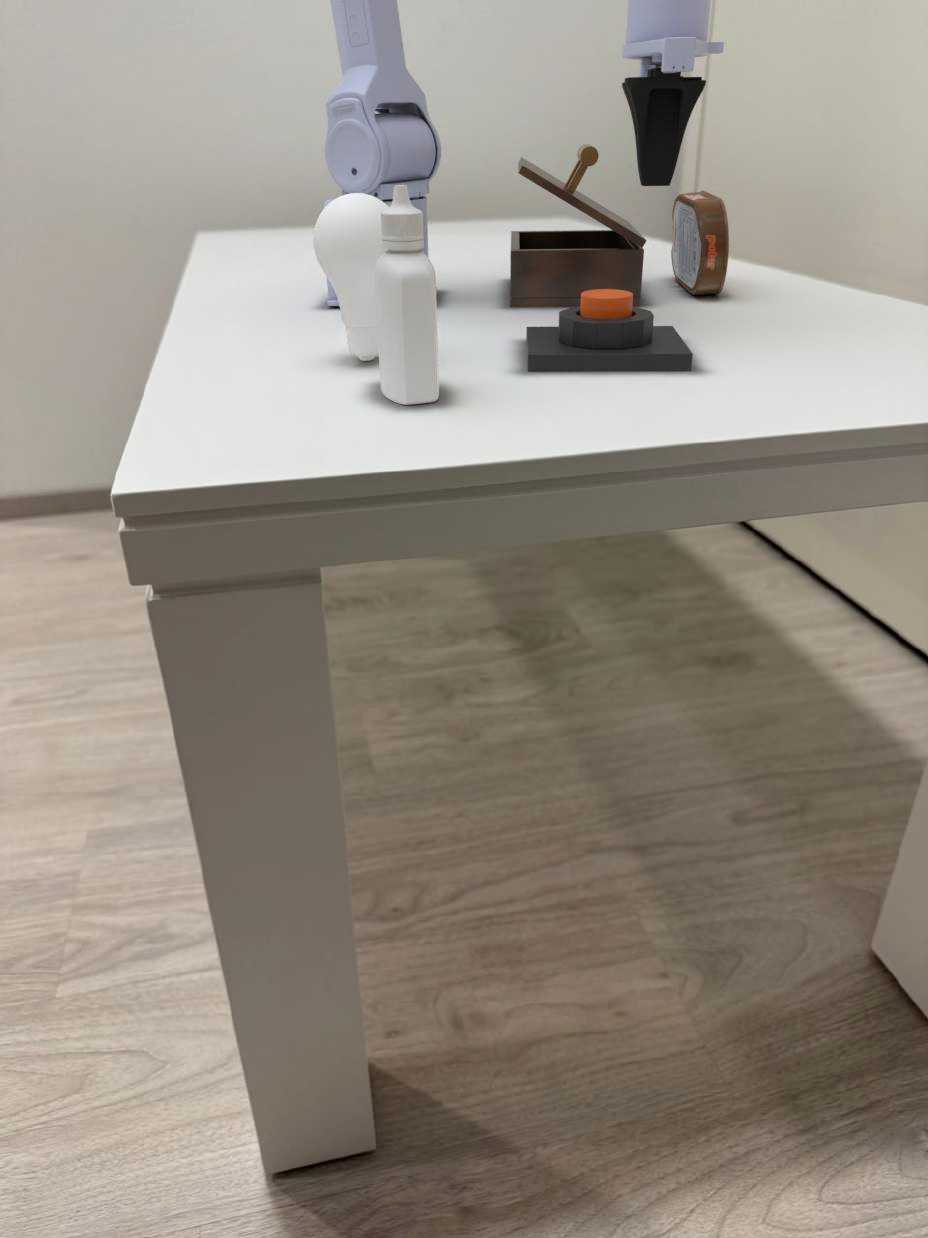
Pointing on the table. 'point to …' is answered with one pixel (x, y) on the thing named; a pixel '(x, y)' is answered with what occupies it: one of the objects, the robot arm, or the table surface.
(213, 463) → the table surface
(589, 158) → the lid
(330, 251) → the lightbulb
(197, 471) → the table surface
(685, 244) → the tin
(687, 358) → the switch block
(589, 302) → the button
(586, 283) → the box
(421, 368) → the eye dropper bottle
